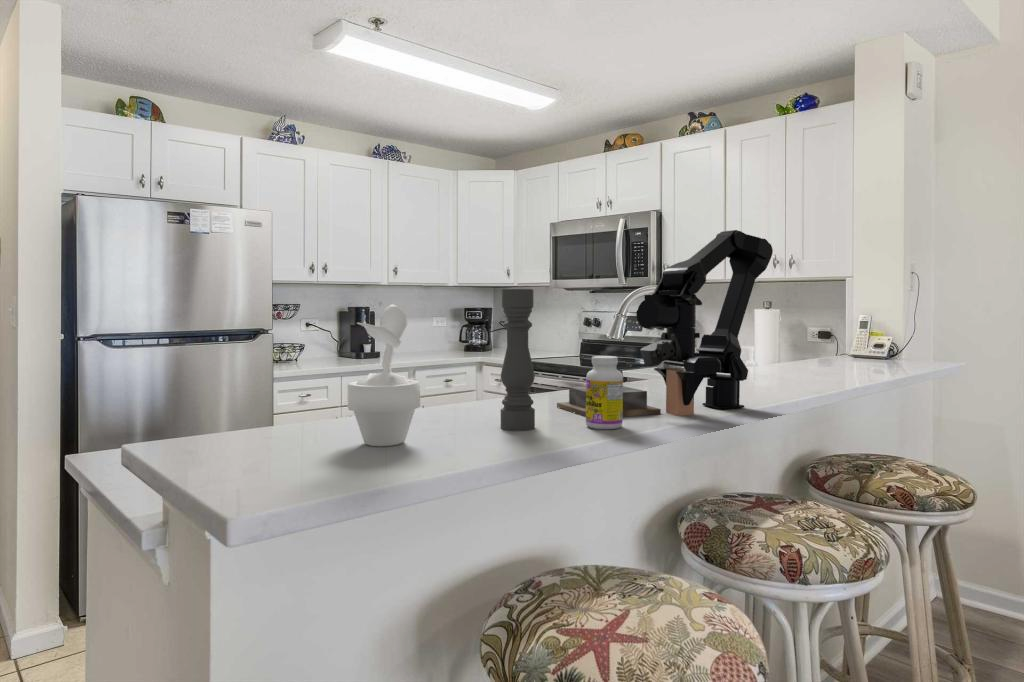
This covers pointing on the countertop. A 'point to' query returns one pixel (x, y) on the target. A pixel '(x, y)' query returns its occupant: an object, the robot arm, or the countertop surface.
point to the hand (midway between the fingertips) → (680, 403)
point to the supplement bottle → (604, 394)
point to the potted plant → (385, 388)
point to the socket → (631, 402)
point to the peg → (676, 395)
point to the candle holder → (517, 361)
